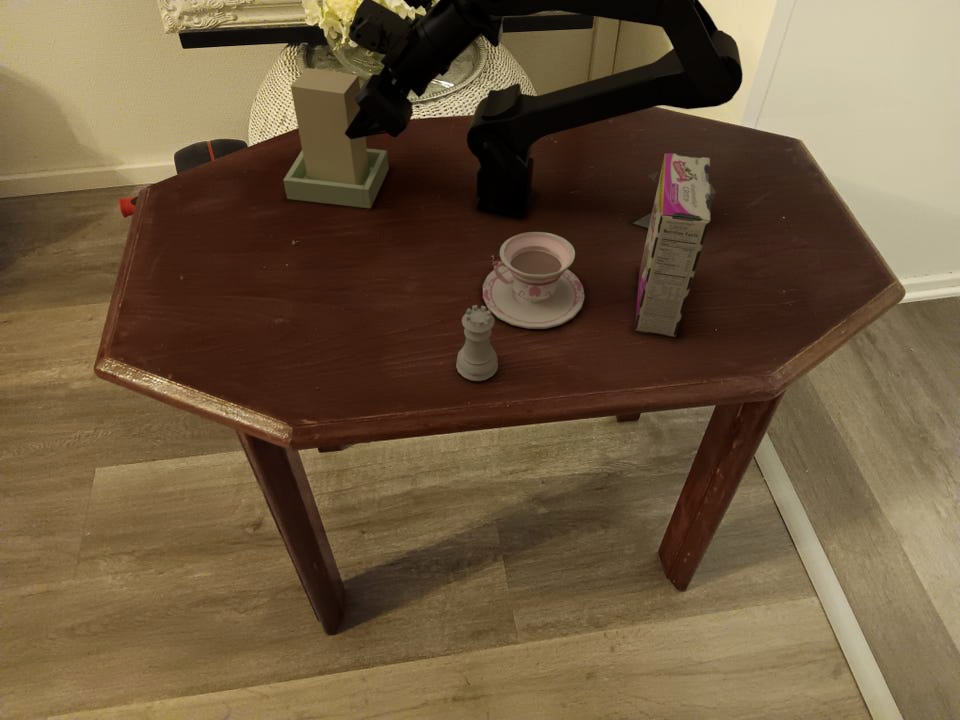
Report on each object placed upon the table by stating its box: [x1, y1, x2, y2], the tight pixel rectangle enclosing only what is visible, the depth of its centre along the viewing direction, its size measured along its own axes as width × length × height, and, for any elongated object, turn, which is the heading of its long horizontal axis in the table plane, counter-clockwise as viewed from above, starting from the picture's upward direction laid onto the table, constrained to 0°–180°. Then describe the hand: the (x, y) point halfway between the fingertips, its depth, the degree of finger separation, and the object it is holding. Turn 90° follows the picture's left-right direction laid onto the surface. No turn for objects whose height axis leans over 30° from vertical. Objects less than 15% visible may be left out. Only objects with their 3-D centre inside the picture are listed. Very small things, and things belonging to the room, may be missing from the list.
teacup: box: [482, 231, 586, 330], centre depth 82 cm, size 12×12×6 cm
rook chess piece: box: [455, 304, 499, 382], centre depth 74 cm, size 4×4×8 cm
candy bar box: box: [634, 152, 711, 338], centre depth 78 cm, size 11×5×16 cm, turn 168°
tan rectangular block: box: [290, 67, 369, 185], centre depth 94 cm, size 7×5×14 cm
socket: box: [283, 148, 390, 210], centre depth 98 cm, size 12×10×3 cm
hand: (358, 117), depth 91 cm, fingers open, 9 cm apart
